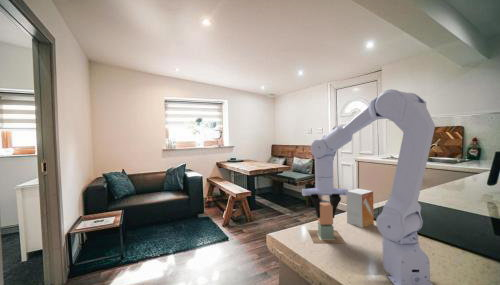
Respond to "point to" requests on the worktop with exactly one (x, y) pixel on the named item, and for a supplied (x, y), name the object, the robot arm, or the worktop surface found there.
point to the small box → (360, 207)
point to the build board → (318, 240)
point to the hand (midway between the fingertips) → (325, 217)
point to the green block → (326, 231)
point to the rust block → (326, 213)
